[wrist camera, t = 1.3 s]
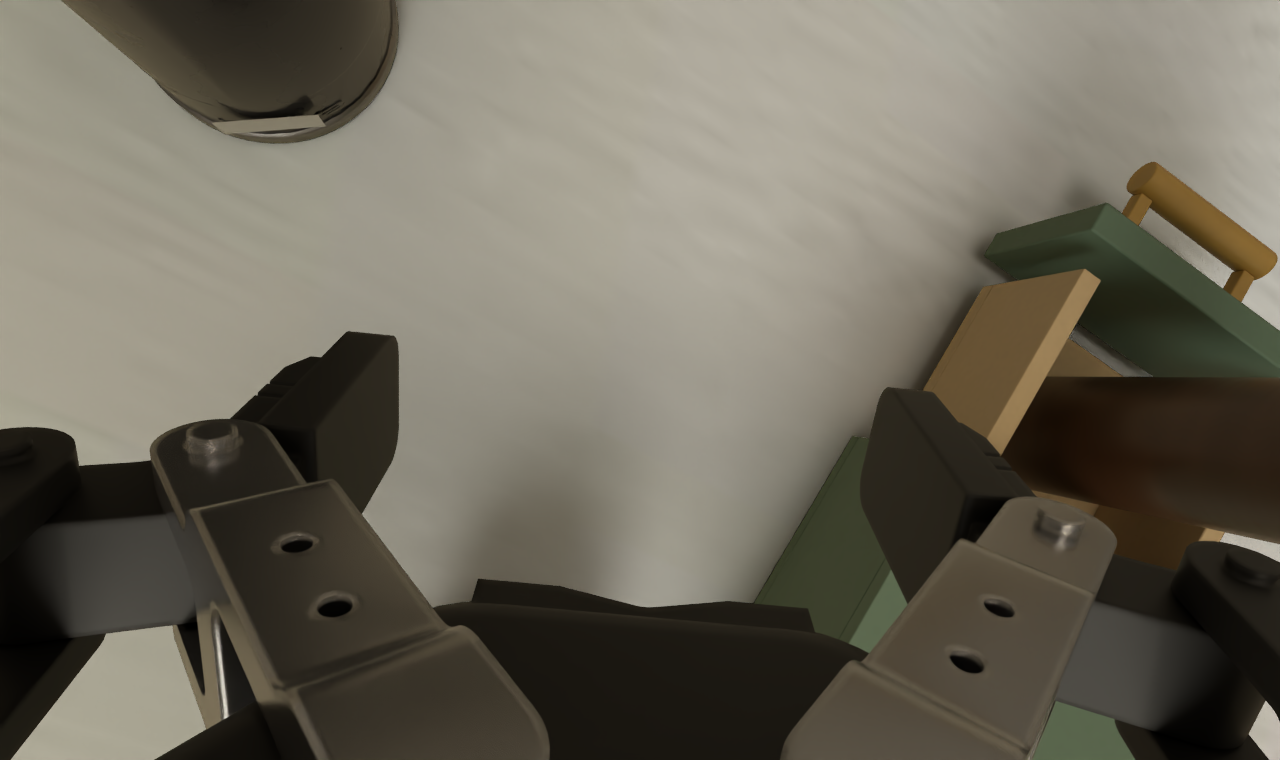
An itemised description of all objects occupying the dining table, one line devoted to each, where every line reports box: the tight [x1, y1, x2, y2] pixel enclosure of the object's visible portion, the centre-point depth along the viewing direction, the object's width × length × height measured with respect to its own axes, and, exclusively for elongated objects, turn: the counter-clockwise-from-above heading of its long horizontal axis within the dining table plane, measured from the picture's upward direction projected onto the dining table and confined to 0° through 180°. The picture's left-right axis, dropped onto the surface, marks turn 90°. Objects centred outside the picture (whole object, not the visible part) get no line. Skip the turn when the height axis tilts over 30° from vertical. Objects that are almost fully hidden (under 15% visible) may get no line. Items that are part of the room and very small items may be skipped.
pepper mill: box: [1000, 376, 1280, 544], centre depth 25 cm, size 5×5×22 cm
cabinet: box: [754, 436, 1135, 760], centre depth 32 cm, size 14×12×8 cm
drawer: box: [923, 162, 1280, 570], centre depth 33 cm, size 18×11×7 cm, turn 148°
